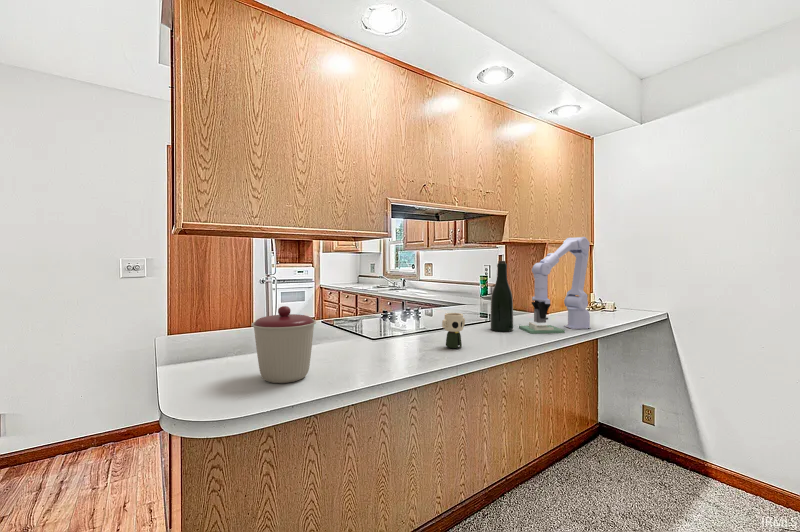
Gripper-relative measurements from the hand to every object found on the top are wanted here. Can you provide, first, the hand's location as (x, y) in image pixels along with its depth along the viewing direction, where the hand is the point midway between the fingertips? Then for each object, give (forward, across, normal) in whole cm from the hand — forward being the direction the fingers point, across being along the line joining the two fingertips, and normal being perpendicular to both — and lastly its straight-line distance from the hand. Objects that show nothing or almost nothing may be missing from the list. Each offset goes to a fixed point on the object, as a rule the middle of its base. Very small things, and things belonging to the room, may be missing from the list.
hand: (540, 317), depth 191 cm
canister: (+7, +61, -106) cm, 122 cm away
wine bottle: (+7, -5, -17) cm, 19 cm away
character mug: (+7, +28, -48) cm, 56 cm away
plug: (+2, 0, 0) cm, 2 cm away
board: (+6, -2, +1) cm, 7 cm away
